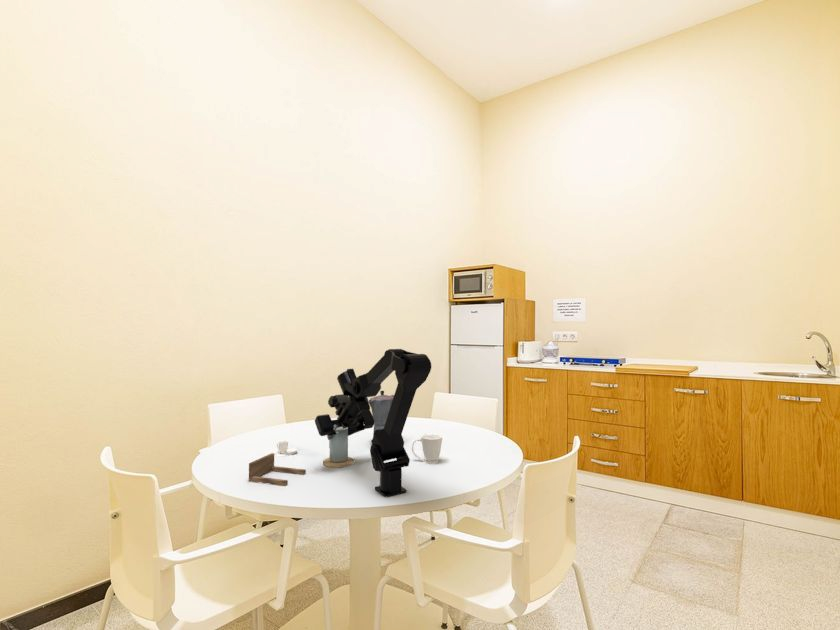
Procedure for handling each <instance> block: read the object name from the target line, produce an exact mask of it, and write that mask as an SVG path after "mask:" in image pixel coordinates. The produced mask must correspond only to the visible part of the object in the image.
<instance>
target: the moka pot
mask: <svg viewBox="0 0 840 630" xmlns="http://www.w3.org/2000/svg"><path fill="white" fill-rule="evenodd" d="M379 392H380V395H376V396H373V397H369V399H368V402H369V405H370V410H371V414H372V416H373V418H374V420H375V424H374V426H373V433H372V435H374V432H375V430H378V429H383V428H384V426H385V423H386V420H387V417H388V413H389V410H390V407H391V404H392V401H393V398H394V395H395V394H391V395H388V394H385V390H380V391H379Z"/></svg>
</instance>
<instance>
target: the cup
mask: <svg viewBox="0 0 840 630" xmlns="http://www.w3.org/2000/svg"><path fill="white" fill-rule="evenodd" d="M417 441H418V442H421V445H422V452H423V455H424V456H423V457H424V459H423V458H421V457H420V456H419V455H417V454H416V453H415V452H414V445H415V443H416V442H417ZM442 443H443V436H442V435H440V434H434V433H429V434H423V435H421V436H420V438H416V439H415V440H414V441H413V442H412V446H411V451H412V454H413V455H414V457H416V458H417V459H418V460H420V461H422V462H425V463H426V464H430V463H431V464H432V463H433V464H437V463H439V460H438V459H440V454H441V449H442Z"/></svg>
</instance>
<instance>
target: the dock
mask: <svg viewBox="0 0 840 630" xmlns="http://www.w3.org/2000/svg"><path fill="white" fill-rule="evenodd" d="M271 472H276V473H283V474H284V473H285V474H291V475H292V474H294V475H301V476H302V475H303V476H304V475H306V474H307V469H302V468H296V467H295V468H294V467H284V466H277V465H276V466H275V456H274V453H272V452H271V453H269V454H267V455H263V457H260V458H258V459H256V460H253V461H251V462H249V463H248V482H250V481H253V482H252V483H258V482H262V483H261V484H266V483H270V484H269V485H274V484H275V485H276V486H284V487H286V486H288V483H289V482H288V481H289V480H288V479H281V478H274V477H273V478H272V477H265V474H266V475H268V474H270V473H271ZM263 475H264V476H263ZM261 476H262V477H261Z"/></svg>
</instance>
